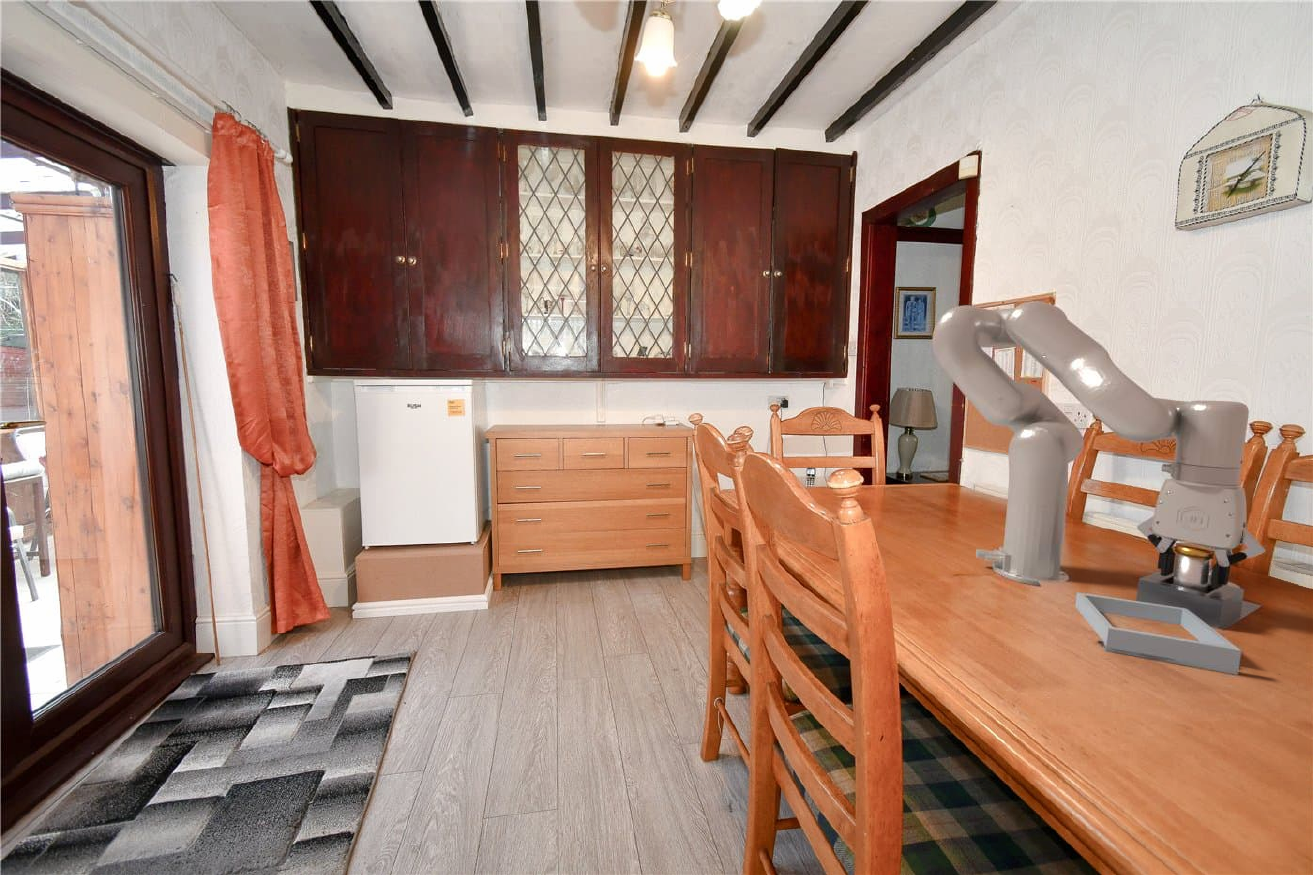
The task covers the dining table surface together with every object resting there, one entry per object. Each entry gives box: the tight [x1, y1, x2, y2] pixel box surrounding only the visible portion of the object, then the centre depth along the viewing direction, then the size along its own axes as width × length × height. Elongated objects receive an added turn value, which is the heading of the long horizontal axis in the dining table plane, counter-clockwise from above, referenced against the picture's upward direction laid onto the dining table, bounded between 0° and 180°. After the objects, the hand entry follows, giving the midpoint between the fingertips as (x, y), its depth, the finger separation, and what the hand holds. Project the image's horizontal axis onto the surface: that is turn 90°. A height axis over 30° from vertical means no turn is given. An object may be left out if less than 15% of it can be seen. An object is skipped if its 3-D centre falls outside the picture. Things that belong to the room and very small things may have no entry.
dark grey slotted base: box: [1135, 569, 1262, 631], centre depth 88 cm, size 19×11×6 cm, turn 118°
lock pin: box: [1173, 542, 1216, 593], centre depth 85 cm, size 5×5×11 cm
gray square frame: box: [1074, 591, 1242, 676], centre depth 77 cm, size 14×14×4 cm
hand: (1190, 579), depth 85 cm, fingers open, 5 cm apart
